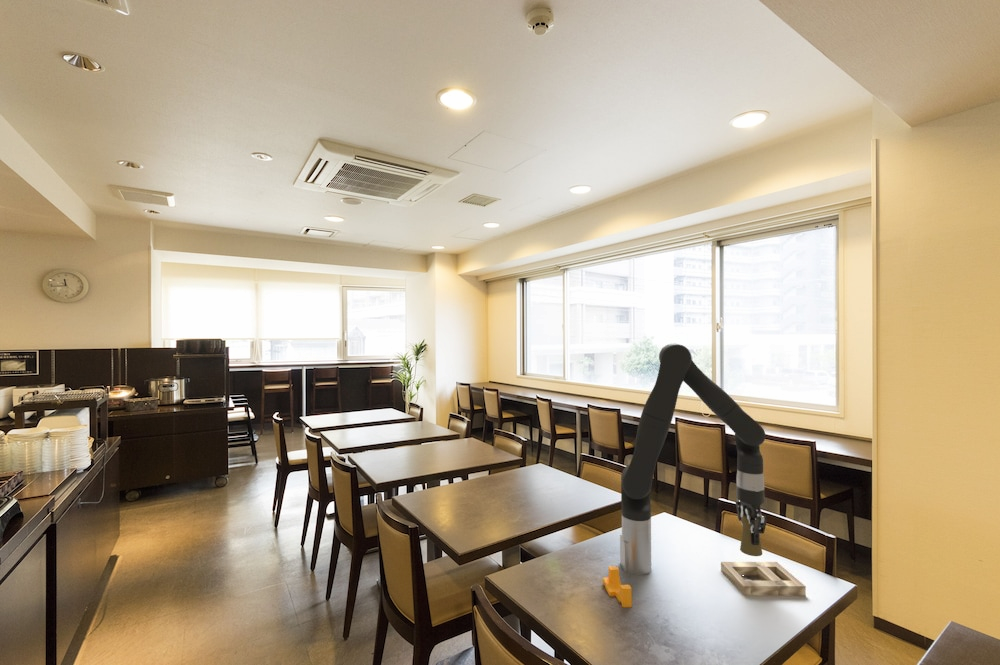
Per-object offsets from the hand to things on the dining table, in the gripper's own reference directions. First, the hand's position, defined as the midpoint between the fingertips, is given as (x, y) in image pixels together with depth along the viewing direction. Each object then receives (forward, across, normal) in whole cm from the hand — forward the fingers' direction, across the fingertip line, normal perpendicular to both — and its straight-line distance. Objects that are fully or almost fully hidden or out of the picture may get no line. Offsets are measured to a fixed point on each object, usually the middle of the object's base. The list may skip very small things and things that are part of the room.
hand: (750, 540), depth 139 cm
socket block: (+13, 0, +3) cm, 13 cm away
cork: (+3, 0, 0) cm, 3 cm away
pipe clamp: (+13, +8, -44) cm, 46 cm away
